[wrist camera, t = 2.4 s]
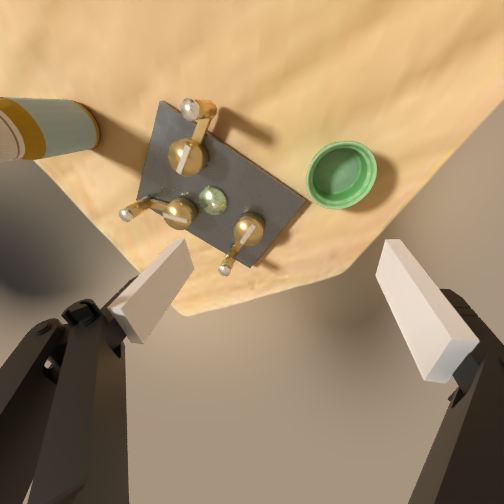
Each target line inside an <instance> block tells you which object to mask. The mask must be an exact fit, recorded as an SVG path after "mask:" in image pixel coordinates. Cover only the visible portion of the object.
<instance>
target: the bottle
mask: <svg viewBox="0 0 504 504" xmlns="http://www.w3.org/2000/svg"><path fill="white" fill-rule="evenodd" d="M99 135H100V132H99V128H98V125H97V123H96V121H95V119H94V117H93V116H92V115H91V113H90V112H89V111H88V110H87V109H86V108H85V107H84V106H82V105H81V104H79V103H78V102H76V101H72V100H60V99H33V98H5V97H0V162H6V161H11V160H16V159H26V160H36V159H42V158H48V157H53V156H58V155H63V154H68V153H73V152H78V151H84V150H89V149H93V148H94V147H96V146H97V144H98V142H99Z"/></svg>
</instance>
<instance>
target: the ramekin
mask: <svg viewBox="0 0 504 504" xmlns="http://www.w3.org/2000/svg"><path fill="white" fill-rule="evenodd" d="M376 177H377V162H376V159H375V157H374V155H373V153H372V152H371V151H370V150H369V149H368V148H367V147H366V146H364V145H362V144H360V143H357V142H353V141H342V142H335V143H332V144H329V145H327V146H325V147H324V148H323V149H321V150H320V151H319V152H318V153H317V154H316V155H315V157H314V158H313V160H312V162H311V164H310V167H309V169H308V172H307V177H306V185H307V190H308V193H309V195H310V197H311V198H312V199H313V201H314V202H316V203H317V204H318V205H320V206H322V207H324V208H328V209H343V208H347V207H350V206H352V205H354V204H356V203H358V202H359V201H361V200H362V199H363V198H364V197H365V196H366V195H367V194H368V193H369V192H370V190H371V189H372V187H373V185H374V183H375V180H376Z"/></svg>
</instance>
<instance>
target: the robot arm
mask: <svg viewBox="0 0 504 504" xmlns="http://www.w3.org/2000/svg"><path fill="white" fill-rule="evenodd" d="M193 270H194V266H193V263H192V260H191V257H190V254H189V251H188V247H187V244H186V241H185V239H175V240H174V241H173V242H172V243H171V244H170V245H169V246H168V247H167V248H166V249H165V250H164V251H163V252H162V253H161V254H160V255H159V256H158V257H157V258H156V259H155V260H154V261H153V262H152V263H151V264H150V265H149V266H148V267H147V268H146V269H145V270H144V271H143V272H142V273H141V274H140V275H138V276H136V277H135V278H133V279H132V280H130V281H129V282H128V283H127V284H126V285H125V286H124V288H122V289H121V290H120V291H119V293H117V294H115V295H114V297H112V298H111V299H110V300H109V301H108V302H107V303H106V304H105V305H104V306H103V307H102V308H101V309H99V308H98V306H97V305H96V304H95V302H94V301H93V300H91V299H84V300H81V301H78V302H76V303H74V304H72V305H71V306H69V307H68V308H67V309H66V310H65V311H64V312H63V313H62V317H63V318H64V319H65V320H66V321H67V322H68V324H62V323H61V322H60V321H59V320H58V319H55V318H53V319H48V320H46V321H43V322H41V323H39V324H37V325H36V326H35V327H33V328H32V329H31V330H30V331H29V332H28V333H27V334H26V335H25V337H24V338H23V339H22V341H21V342H20V343H19V345H18V346H17V347H16V349H15V350H14V351H13V352H12V354H11V355H10V356H9V358H8V359H7V360H6V362H5V363H4V364H3V366H2V367H1V368H0V504H22V503H23V501H24V499H25V496H26V494H27V492H28V489H29V487H30V484H31V482H32V480H33V483H32V487H31V491H30V495H29V499H28V503H27V504H129V493H128V491H129V489H128V453H127V452H128V451H127V413H126V377H125V376H126V374H125V345H124V342H123V340H124V338H125V337H126V336H127V337H128V339H129V340H130V342H131V343H138V344H144V342H145V341H146V339H147V338H148V336H149V335H150V333H151V332H152V331H153V329H154V328H155V326H156V325H157V323H158V321H159V320H160V319H161V317H162V316H163V314H164V313H165V311H166V310H167V308H168V307H169V305H170V304H171V303H172V301H173V300H174V298H175V297H176V295H177V294H178V292H179V291H180V289H181V288H182V286H183V285H184V283H185V282H186V280H187V279H188V278H189V276H190V275H191V273H192V272H193ZM376 277H377V279H378V282H379V284H380V286H381V289H382V291H383V293H384V295H385V297H386V299H387V301H388V304H389V306H390V308H391V310H392V312H393V315H394V317H395V319H396V321H397V323H398V325H399V328H400V329H401V332H402V334H403V336H404V338H405V340H406V343H407V345H408V347H409V349H410V351H411V353H412V356H413V358H414V360H415V362H416V364H417V367H418V369H419V371H420V373H421V375H422V377H423V380H424V381H431V382H439V383H447V382H448V381H449V379H450V378H451V377H452V376H454V378H455V380H456V382H457V384H458V385H459V387H458V388H457V389H456V390H455V391H454V392H453V394H452V395H451V396H450V397H449V398H448V400H449V401H451V402H450V404H449V407H448V409H447V412H446V414H445V416H444V419H443V421H442V424H441V426H440V428H439V431H438V433H437V436H436V438H435V440H434V443H433V445H432V447H431V450H430V452H429V455H428V457H427V459H426V463H425V464H424V467H423V469H422V471H421V474H420V476H419V479H418V481H417V483H416V486H415V488H414V490H413V493H412V495H411V498H410V500H409V503H408V504H504V345H503V344H502V343H501V342H500V341H499V339H498V338H497V337H496V336H495V335H494V333H493V332H492V331H491V330H490V329H489V328H488V327H487V325H486V324H485V323H484V322H483V321H482V320H481V319H480V318H479V317H478V315H477V314H476V313H475V312H474V311H473V309H471V307H470V306H469V305H468V304H467V303H466V302H465V300H464V299H463V298H462V297H460V296H459V295H457V294H456V293H455V292H453V291H451V290H450V289H439V288H438V287H437V286H436V285H435V283H434V282H433V281H432V280H431V278H430V277H429V276H428V274H427V273H426V272H425V271H424V269H423V268H422V267H421V266H420V264H419V263H418V262H417V260H416V259H415V258H414V257H413V255H412V254H411V253H410V252H409V250H408V249H407V248H406V246H405V245H404V244H403V243H402V242H401V240H400V239H389V240H387V239H386V240H385V243H384V247H383V251H382V254H381V258H380V261H379V265H378V268H377V272H376ZM46 360H49V361H50V362H51V363H52V364H51V365H50V367H49V368H46V367H45V366H44V364H45V362H46ZM33 478H34V479H33Z"/></svg>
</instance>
